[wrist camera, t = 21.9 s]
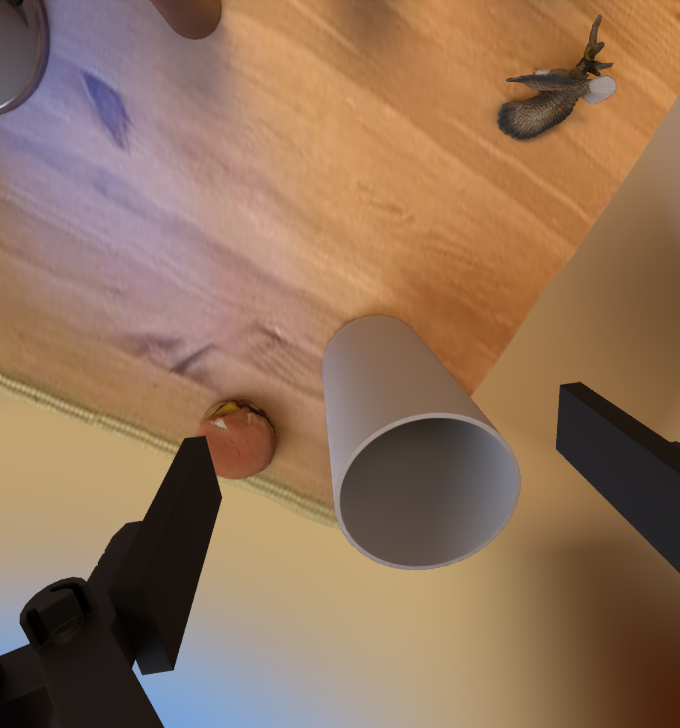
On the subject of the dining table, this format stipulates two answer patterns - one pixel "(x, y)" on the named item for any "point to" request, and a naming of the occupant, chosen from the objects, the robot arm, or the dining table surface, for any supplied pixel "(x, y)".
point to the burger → (238, 438)
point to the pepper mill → (190, 16)
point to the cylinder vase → (410, 451)
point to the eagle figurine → (557, 93)
